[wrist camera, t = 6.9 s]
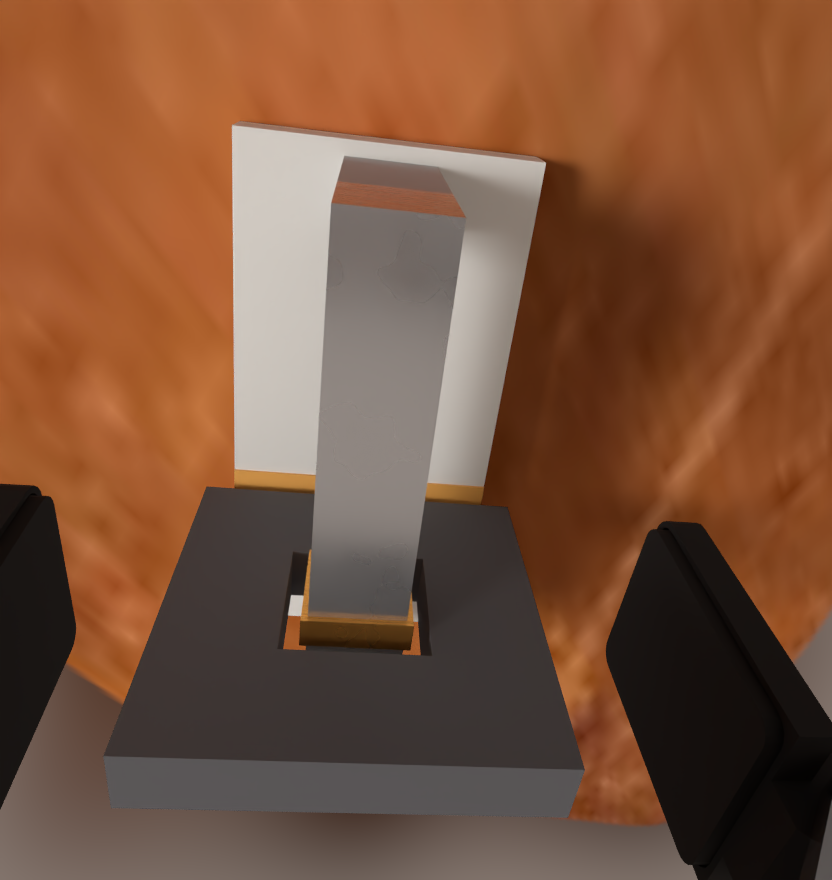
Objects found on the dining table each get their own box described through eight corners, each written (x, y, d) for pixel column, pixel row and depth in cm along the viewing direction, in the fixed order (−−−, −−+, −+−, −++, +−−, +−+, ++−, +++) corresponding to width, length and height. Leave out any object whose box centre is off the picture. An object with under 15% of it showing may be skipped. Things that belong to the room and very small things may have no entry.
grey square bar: (330, 178, 18) (321, 203, 15) (459, 193, 18) (476, 220, 15) (301, 694, 27) (292, 772, 24) (388, 697, 27) (391, 775, 25)
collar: (206, 486, 27) (103, 756, 17) (507, 507, 29) (584, 769, 18) (207, 528, 28) (110, 807, 18) (498, 546, 30) (568, 817, 19)
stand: (239, 120, 23) (196, 143, 17) (537, 156, 24) (587, 189, 18) (241, 589, 33) (213, 703, 27) (454, 601, 34) (470, 713, 28)
